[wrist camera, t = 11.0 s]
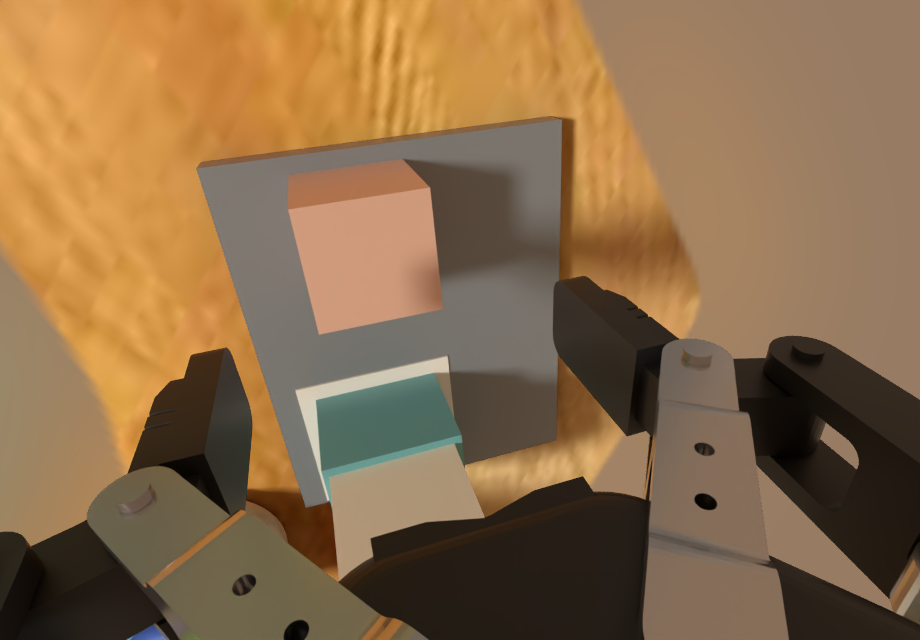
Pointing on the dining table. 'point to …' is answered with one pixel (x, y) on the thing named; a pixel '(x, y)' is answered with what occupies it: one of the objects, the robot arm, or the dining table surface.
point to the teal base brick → (383, 425)
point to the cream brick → (397, 500)
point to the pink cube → (365, 243)
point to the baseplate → (423, 335)
